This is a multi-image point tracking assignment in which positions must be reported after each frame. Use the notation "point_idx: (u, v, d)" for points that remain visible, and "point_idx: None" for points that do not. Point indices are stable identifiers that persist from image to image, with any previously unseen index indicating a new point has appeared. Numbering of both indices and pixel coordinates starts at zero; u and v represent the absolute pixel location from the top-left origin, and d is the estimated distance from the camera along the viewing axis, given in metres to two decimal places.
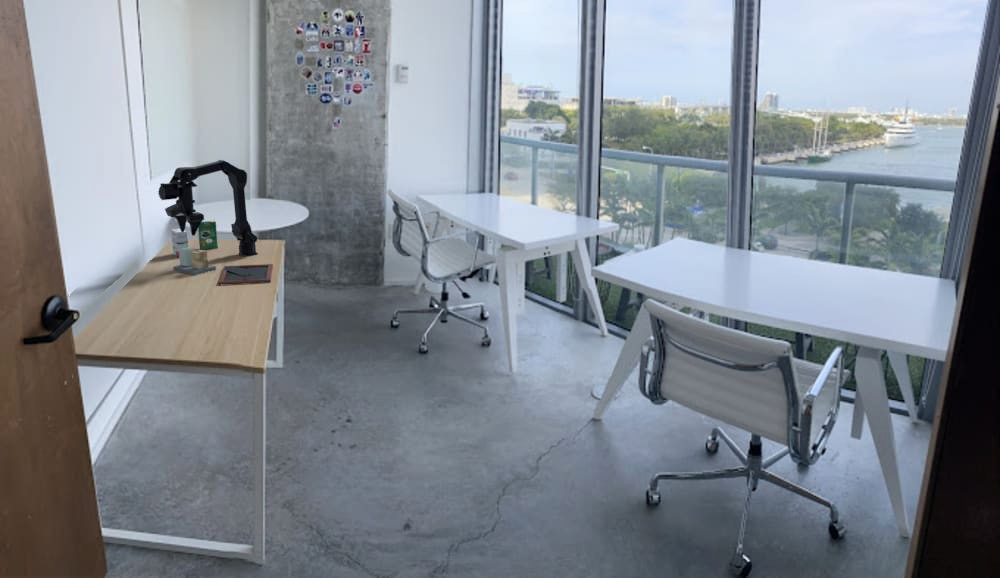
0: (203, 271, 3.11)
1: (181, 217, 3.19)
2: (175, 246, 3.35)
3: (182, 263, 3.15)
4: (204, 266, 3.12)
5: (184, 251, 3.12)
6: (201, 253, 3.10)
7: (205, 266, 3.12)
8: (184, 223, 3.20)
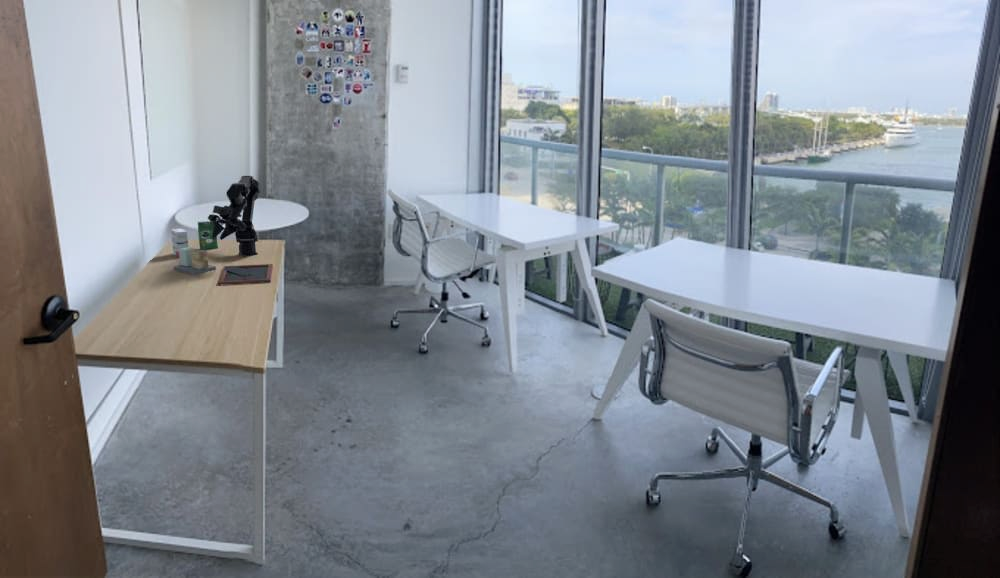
0: (203, 271, 3.11)
1: (219, 225, 3.21)
2: (175, 246, 3.35)
3: (182, 263, 3.15)
4: (204, 266, 3.12)
5: (184, 251, 3.12)
6: (201, 253, 3.10)
7: (205, 266, 3.12)
8: (218, 232, 3.21)
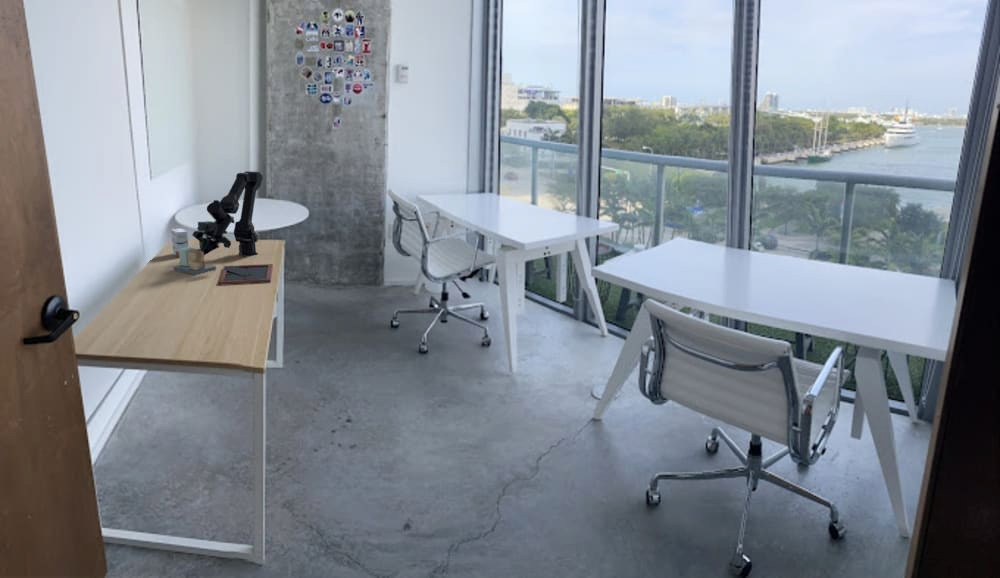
0: (203, 271, 3.11)
1: None
2: (175, 246, 3.35)
3: (182, 263, 3.15)
4: (201, 267, 3.11)
5: (184, 251, 3.12)
6: (198, 254, 3.08)
7: (202, 267, 3.11)
8: None
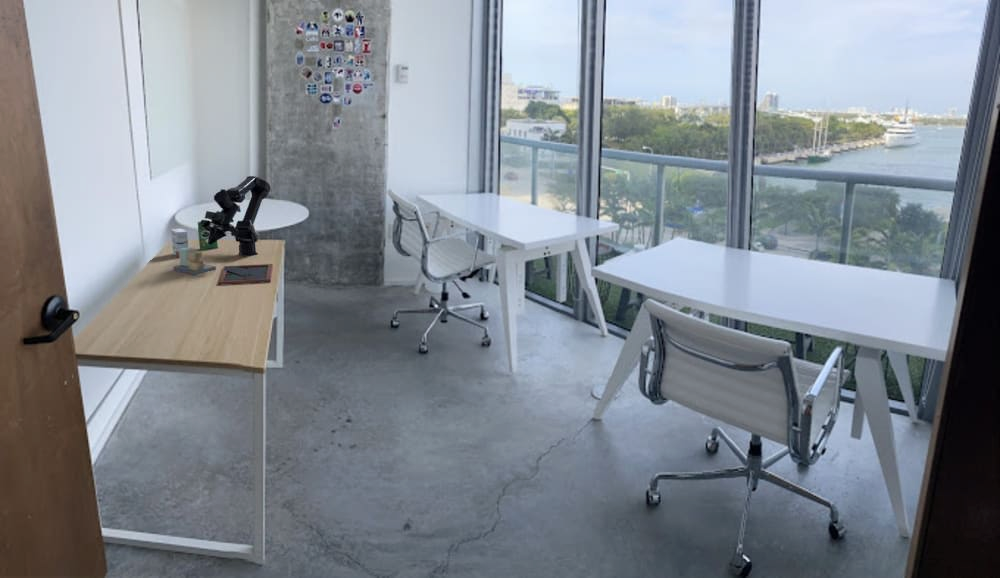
0: (203, 271, 3.11)
1: None
2: (175, 246, 3.35)
3: (182, 263, 3.15)
4: (199, 267, 3.10)
5: (184, 251, 3.12)
6: (196, 254, 3.08)
7: (200, 267, 3.10)
8: None
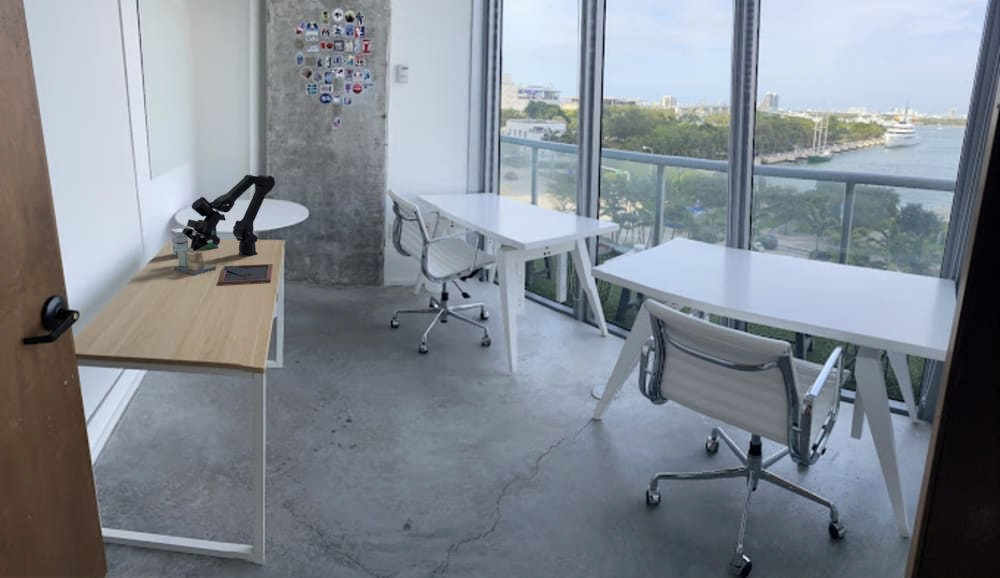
0: (203, 271, 3.11)
1: None
2: (175, 246, 3.35)
3: (181, 263, 3.15)
4: (199, 267, 3.10)
5: (183, 251, 3.12)
6: (196, 254, 3.08)
7: (200, 267, 3.10)
8: None
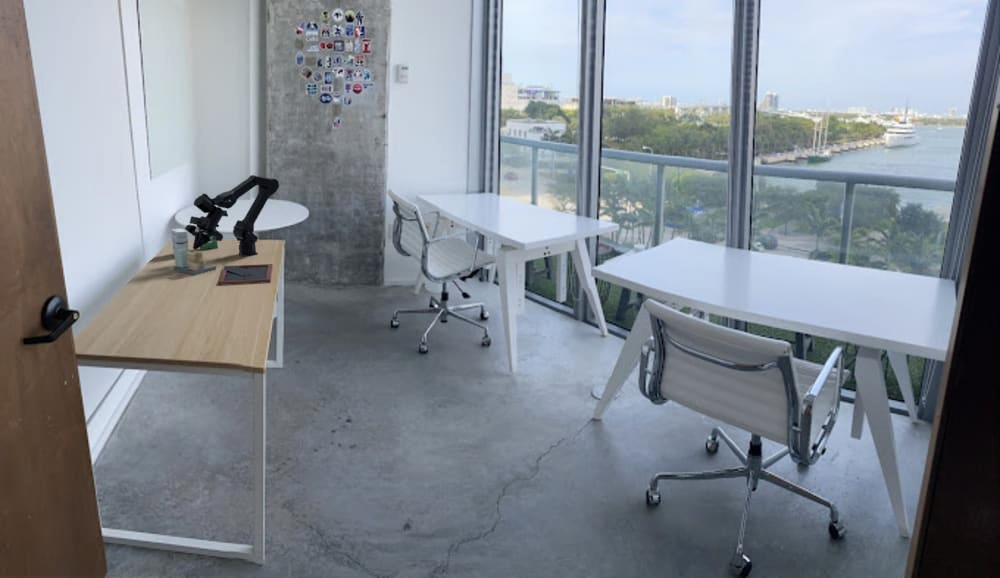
0: (203, 271, 3.11)
1: None
2: (175, 246, 3.35)
3: (177, 264, 3.13)
4: (199, 267, 3.10)
5: (179, 252, 3.10)
6: (196, 254, 3.08)
7: (200, 267, 3.10)
8: None
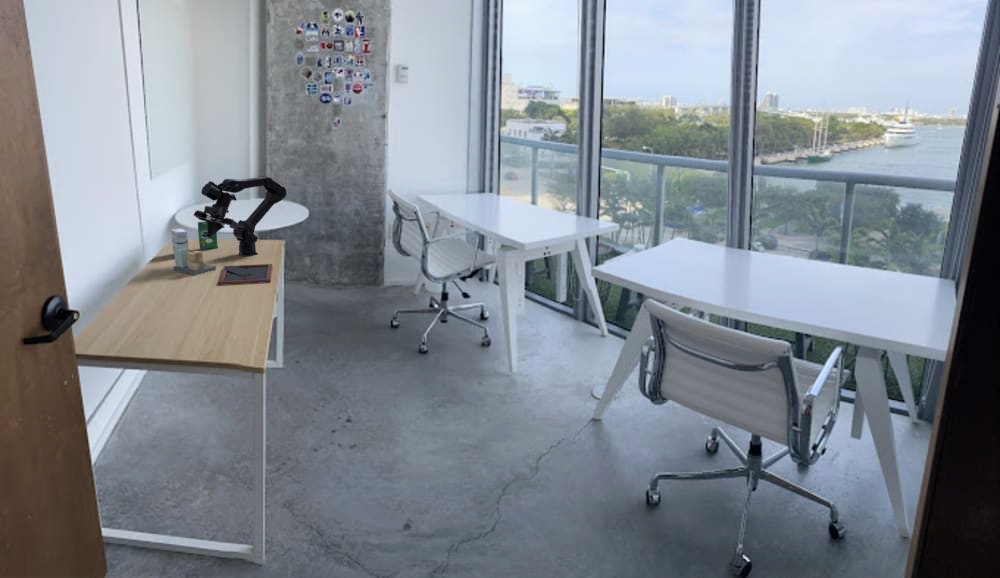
0: (203, 271, 3.11)
1: (212, 224, 3.24)
2: (175, 246, 3.35)
3: (177, 264, 3.13)
4: (199, 267, 3.10)
5: (179, 252, 3.10)
6: (196, 254, 3.08)
7: (200, 267, 3.10)
8: None
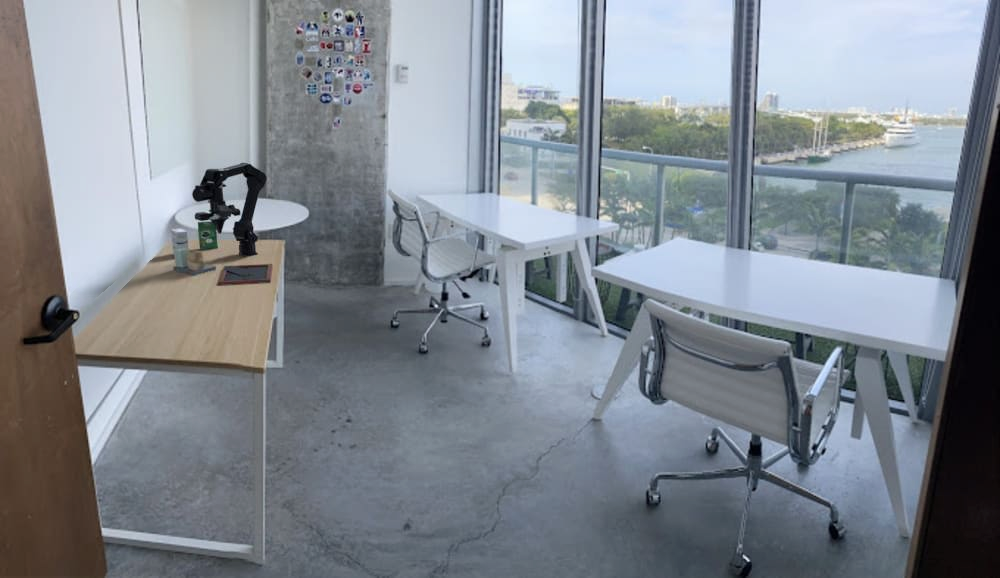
0: (203, 271, 3.11)
1: None
2: (175, 246, 3.35)
3: (177, 264, 3.13)
4: (199, 267, 3.10)
5: (179, 252, 3.10)
6: (196, 254, 3.08)
7: (200, 267, 3.10)
8: None
